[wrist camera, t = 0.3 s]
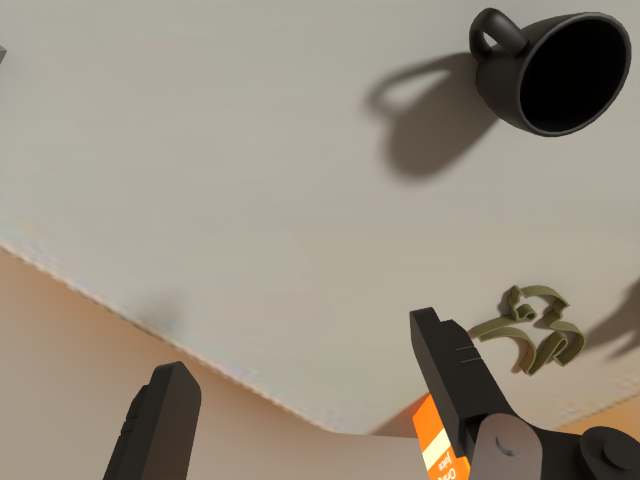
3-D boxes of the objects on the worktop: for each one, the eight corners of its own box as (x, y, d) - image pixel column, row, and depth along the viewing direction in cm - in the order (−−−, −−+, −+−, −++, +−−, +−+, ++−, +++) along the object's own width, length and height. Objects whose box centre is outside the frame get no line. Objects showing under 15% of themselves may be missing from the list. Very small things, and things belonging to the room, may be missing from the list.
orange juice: (475, 394, 57) (550, 546, 40) (449, 424, 61) (507, 574, 44) (434, 386, 55) (494, 540, 38) (411, 418, 59) (455, 570, 42)
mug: (476, -28, 29) (546, -60, 20) (566, 57, 32) (656, 59, 24) (414, 64, 32) (453, 69, 24) (502, 132, 35) (562, 157, 27)
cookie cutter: (460, 321, 49) (466, 331, 47) (532, 268, 45) (541, 277, 43) (528, 372, 55) (535, 383, 54) (596, 330, 51) (606, 340, 49)
